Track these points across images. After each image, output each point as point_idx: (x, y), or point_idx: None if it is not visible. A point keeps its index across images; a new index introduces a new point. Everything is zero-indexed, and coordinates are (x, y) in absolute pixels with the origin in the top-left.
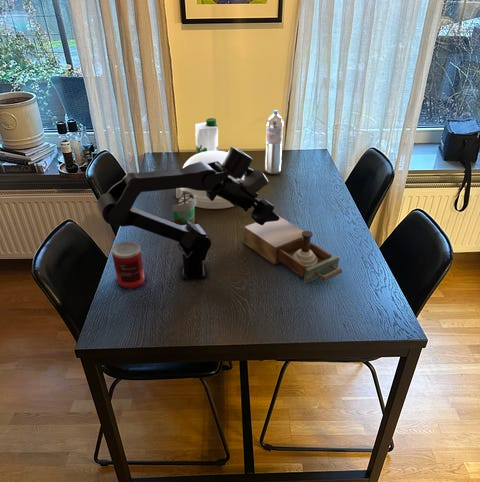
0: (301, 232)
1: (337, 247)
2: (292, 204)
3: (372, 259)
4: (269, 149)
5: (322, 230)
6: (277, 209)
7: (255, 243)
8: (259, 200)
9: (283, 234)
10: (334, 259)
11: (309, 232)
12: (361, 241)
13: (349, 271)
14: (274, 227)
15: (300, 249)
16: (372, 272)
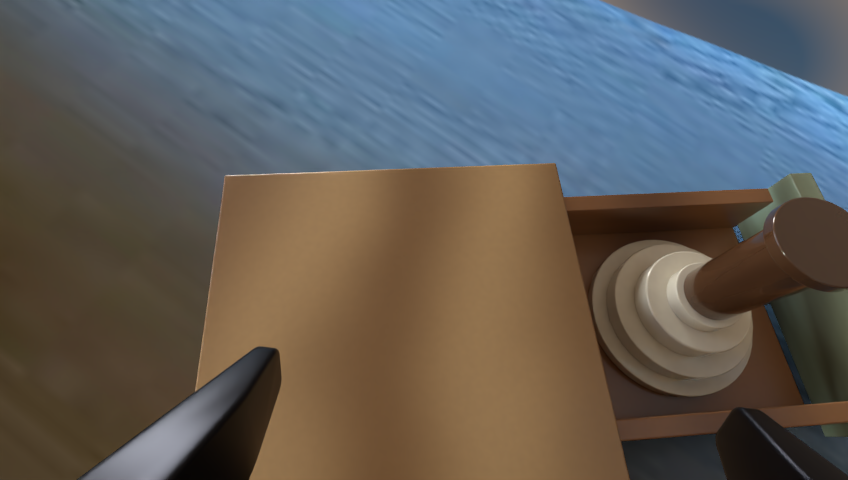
0: (516, 186)
1: (557, 98)
2: (118, 22)
3: (693, 56)
4: None
5: (402, 62)
6: (92, 97)
7: None
8: (201, 457)
9: (481, 300)
10: None
11: (811, 214)
12: (558, 9)
13: (752, 175)
14: (358, 295)
15: (690, 314)
16: (782, 111)
